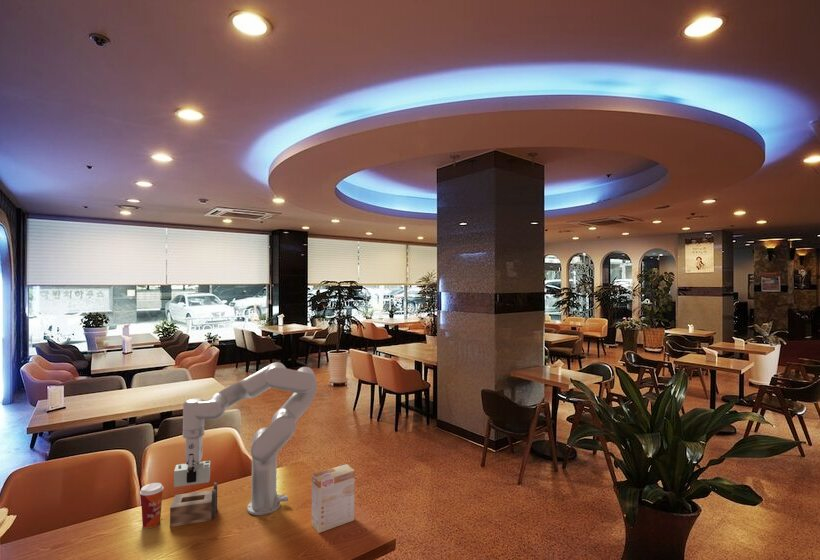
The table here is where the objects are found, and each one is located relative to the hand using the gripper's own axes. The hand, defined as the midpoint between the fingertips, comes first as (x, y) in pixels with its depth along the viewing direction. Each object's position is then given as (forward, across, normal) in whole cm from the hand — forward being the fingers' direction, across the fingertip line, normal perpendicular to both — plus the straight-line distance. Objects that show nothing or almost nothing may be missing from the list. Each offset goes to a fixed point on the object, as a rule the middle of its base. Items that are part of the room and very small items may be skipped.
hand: (192, 477), depth 169 cm
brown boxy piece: (+15, 0, 0) cm, 15 cm away
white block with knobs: (+1, 0, 0) cm, 1 cm away
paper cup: (+15, -1, +14) cm, 21 cm away
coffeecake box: (+15, -20, -51) cm, 57 cm away
